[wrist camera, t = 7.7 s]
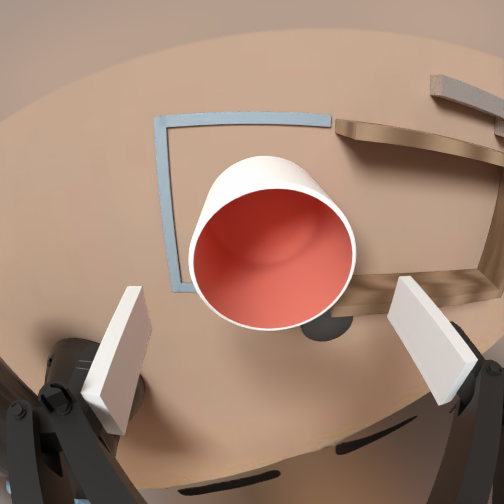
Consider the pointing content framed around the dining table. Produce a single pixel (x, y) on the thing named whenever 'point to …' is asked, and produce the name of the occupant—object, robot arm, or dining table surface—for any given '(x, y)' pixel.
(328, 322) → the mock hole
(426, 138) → the cubby
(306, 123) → the pale blue bent rod
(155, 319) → the dining table surface
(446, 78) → the hook bar
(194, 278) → the cup
